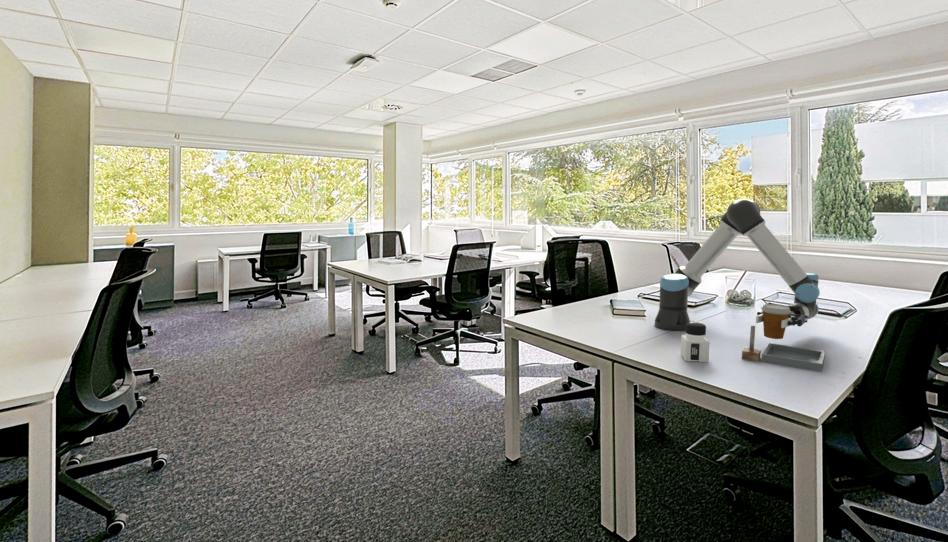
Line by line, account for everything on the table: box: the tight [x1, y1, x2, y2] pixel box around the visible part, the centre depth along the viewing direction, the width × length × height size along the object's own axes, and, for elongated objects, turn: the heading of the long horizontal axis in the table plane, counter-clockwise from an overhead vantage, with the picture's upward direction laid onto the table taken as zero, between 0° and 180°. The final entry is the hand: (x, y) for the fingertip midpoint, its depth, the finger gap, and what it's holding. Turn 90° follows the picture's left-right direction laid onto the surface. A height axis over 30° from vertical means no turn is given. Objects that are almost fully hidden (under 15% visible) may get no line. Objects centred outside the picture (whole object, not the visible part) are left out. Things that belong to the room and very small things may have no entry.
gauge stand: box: [741, 324, 761, 362], centre depth 168 cm, size 5×5×12 cm
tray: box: [761, 342, 826, 372], centre depth 167 cm, size 17×17×3 cm
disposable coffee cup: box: [761, 303, 791, 340], centre depth 181 cm, size 10×10×12 cm
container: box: [680, 321, 711, 363], centre depth 169 cm, size 8×8×13 cm
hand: (769, 321), depth 179 cm, fingers closed on disposable coffee cup, 8 cm apart
